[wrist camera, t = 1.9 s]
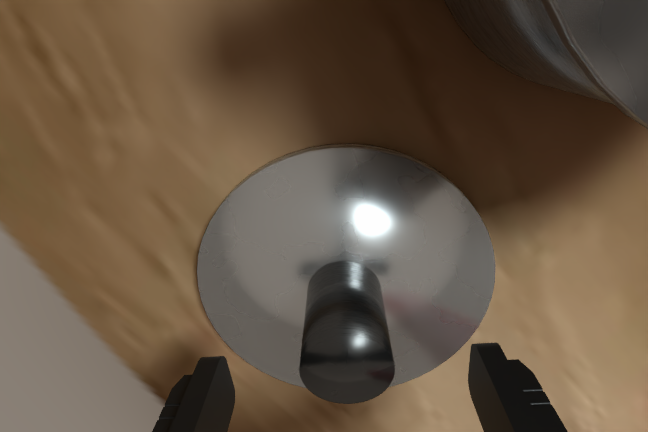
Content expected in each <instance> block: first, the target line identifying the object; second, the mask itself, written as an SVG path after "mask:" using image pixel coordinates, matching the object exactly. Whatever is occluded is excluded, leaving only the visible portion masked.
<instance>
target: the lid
mask: <svg viewBox="0 0 648 432" xmlns="http://www.w3.org/2000/svg"><path fill="white" fill-rule="evenodd" d="M197 278H198V288H199V292H200V297H201V301H202V304H203V306H204V309H205V311H206V314H207V316H208V318H209V320H210V321H211V323H212V325H213V327H214V328H215V330H216V331H217V332H218V334H219V335H220V336H221V338H222V339H223V340H224V342H225V343H226V344H227V345H228V346H229V347H230V348H231V349H232V350H233V351H234V352H235V353H236V354H238V355H239V356H240V357H241V358H243V359H244V360H245V361H246V362H248V363H249V364H251V365H252V366H254V367H256V368H257V369H259V370H260V371H262V372H264V373H266V374H268V375H270V376H272V377H274V378H276V379H279V380H282V381H284V382H287V383H289V384H293V385H297V386H300V387H304V388H307V389H308V390H309V391H311V392H312V393H313V394H315V395H316V396H318V397H320V398H322V399H324V400H327V401H331V402H335V403H343V404H352V403H359V402H364V401H367V400H370V399H373V398H375V397H377V396H378V395H380V394H381V393H383V392H384V391H385V390H386V389H387V388H388V387H391V386H394V385H398V384H401V383H404V382H407V381H409V380H412V379H414V378H417V377H419V376H421V375H423V374H425V373H427V372H429V371H431V370H433V369H434V368H436V367H437V366H439V365H440V364H442V363H443V362H445V361H446V360H447V359H449V358H450V357H451V356H452V355H454V354H455V353H456V352H457V351H458V350H459V349H460V348H461V347H462V346H463V345H464V344H465V343H466V342H467V341H468V340H469V339H470V337H471V336H472V335H473V333H474V332H475V330H476V329H477V328H478V326H479V325H480V323H481V321H482V319H483V317H484V315H485V314H486V311H487V309H488V306H489V303H490V300H491V298H492V293H493V288H494V283H495V259H494V251H493V247H492V243H491V240H490V237H489V234H488V231H487V229H486V227H485V225H484V223H483V221H482V219H481V217H480V215H479V214H478V213H477V211H476V210H475V208H474V207H473V206H472V204H471V203H470V202H469V200H468V199H467V198H466V196H465V195H464V194H463V193H462V192H461V191H460V190H459V189H458V188H457V187H456V186H455V185H454V184H453V183H452V182H451V181H450V180H449V179H448V178H447V177H445V176H444V175H443V174H441V173H440V172H439V171H437V170H436V169H435V168H433V167H431V166H429V165H427V164H425V163H424V162H422V161H420V160H418V159H416V158H414V157H411V156H409V155H406V154H403V153H401V152H398V151H395V150H391V149H387V148H382V147H378V146H372V145H362V144H328V145H322V146H316V147H309V148H306V149H302V150H299V151H295V152H292V153H289V154H286V155H284V156H282V157H279V158H277V159H275V160H273V161H270V162H268V163H267V164H265V165H264V166H262V167H260V168H259V169H257V170H255V171H254V172H252V173H251V174H250V175H249V176H247V177H246V178H245V179H244V180H243V181H241V182H240V183H239V184H238V185H237V186H236V187H235V188H234V189H233V190H232V191H231V192H230V194H229V195H228V196H227V197H226V198H225V199H224V201H223V202H222V204H221V205H220V207H219V208H218V210H217V211H216V213H215V215H214V216H213V218H212V219H211V221H210V222H209V225H208V227H207V229H206V232H205V234H204V236H203V239H202V242H201V246H200V250H199V254H198V265H197Z"/></svg>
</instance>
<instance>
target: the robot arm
mask: <svg viewBox="0 0 648 432" xmlns="http://www.w3.org/2000/svg"><path fill="white" fill-rule="evenodd" d="M468 384H469V390H470V395H471V398H472V401H473V404H474V406H475V409H476V412H477V414H478V417H479V420H480V422H481V425H482V428H483V430H484V432H567V430H566V428H565V427H564V425H563V423H562V421H561V420H560V418H559V416H558V415H557V413H556V411H555V409H554V408H553V406H552V405H551V404H550V401H549V399H548V397H547V396H546V394H545V392H543V390H542V387H541V385H540V384H539V382H538V380H537V378H536V377H535V375H534V373H533V372H532V371H531V370H529V369H528V368H527V367H526V366H525V365H524V364H523V363H522V362H521V361H519V360H507V358H506V356H505V354H504V353H503V351H502V349H501V347H500V345H499V344H498V343H481V344H472V345H471V352H470V363H469V374H468ZM234 403H235V389H234V385H233V381H232V378H231V374H230V371H229V367H228V364H227V360H226V358H225V357H224V356H219V357H202V358H200V359H199V361H198V363H197V366H196V368H195V370H194V373H193V375H184V376H183V377H182V378H181V379H180V381H179V382H178V383H177V384H176V385H175V386H174V387H173V388H172V390H171V392H170V394H169V397H168V399H167V401H166V403H165V407H163V409H162V412H161V414H160V416H159V420H158V421H157V422H156V425H155V427H154V429H153V431H152V432H227V431H228V427H229V423H230V420H231V416H232V412H233V409H234Z"/></svg>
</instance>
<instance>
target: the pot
mask: <svg viewBox="0 0 648 432" xmlns="http://www.w3.org/2000/svg"><path fill="white" fill-rule="evenodd" d="M444 1H445V3H446V5H447V7H448V8H449V10H450V12H451V13H452V15H453V17H454V18H455V20H456V22H457V23H458V25H459V26H460V27H461V29H462V30H463V31H464V32H465V34H466V35H467V36H468V37H469V38H470V40H471V41H472V42H473V43H474V44H475V45H476V46H477V47H478V48H479V49H480V50H481V51H482V52H484V53H485V54H486V55H487V56H488V57H489V58H490V59H491V60H493V61H494V62H496V63H497V64H499V65H500V66H502V67H504V68H505V69H507V70H508V71H510V72H511V73H513V74H516V75H518V76H520V77H523V78H525V79H527V80H530V81H532V82H535V83H539V84H542V85H546V86H550V87H553V88H557V89H560V90H564V91H568V92H571V93H575V94H579V95H582V96H586V97H590V98H593V99H597V100H601V101H604V102H608V103H611V104H615V105H616V106H617V107H618V108H619V109H620V110H621V111H622V112H623V113H624V114H625V115H627V116H628V117H630V118H632V119H633V120H635V121H636V122H638V123H639V124H641V125H642V126H644V127H645V128H647V129H648V0H444Z"/></svg>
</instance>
